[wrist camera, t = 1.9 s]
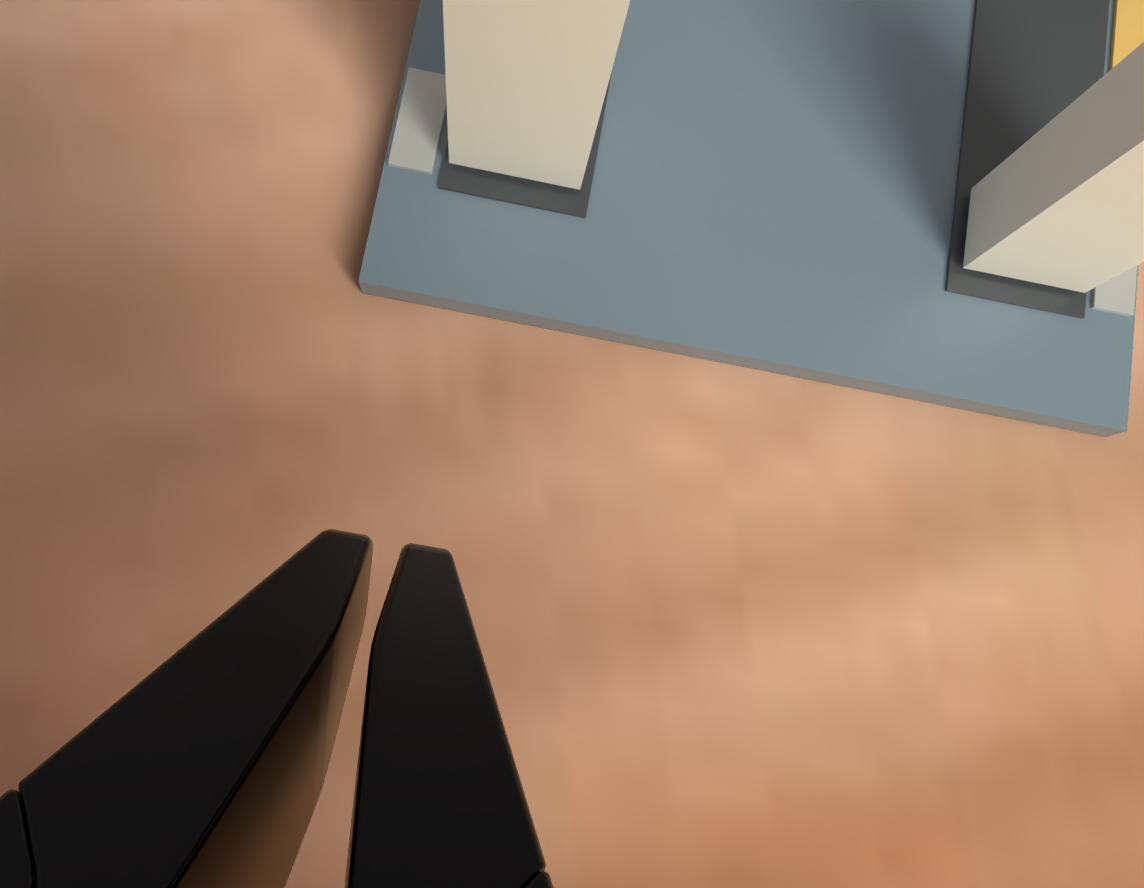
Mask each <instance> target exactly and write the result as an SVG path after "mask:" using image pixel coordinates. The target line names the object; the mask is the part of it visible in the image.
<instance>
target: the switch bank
mask: <svg viewBox="0 0 1144 888" xmlns="http://www.w3.org/2000/svg"><path fill="white" fill-rule="evenodd" d="M1143 42H1144V0H630V4H629V7H628V11H627V15H626V19H625V22H624V26H623V30H622V34H621V38H620V41H619V45H618V49H617V53H616V56H615V60H614V64H613V68H612V71H611V75H610V79H609V83H608V87H607V90H606V94H605V98H604V102H603V105H602V109H601V113H600V117H599V121H598V124H597V128H596V132H595V136H594V139H593V143H592V147H591V151H590V155H589V158H588V162H587V166H586V170H585V173H584V177H583V181H582V185H581V189H580V190H579V189H574V188H569V187H564V186H559V185H554V184H549V183H545V182H540V181H535V180H530V179H525V178H520V177H515V176H510V175H505V174H500V173H496V172H491V171H486V170H481V169H476V168H471V167H466V166H461V165H456V164H451V163H449V150H448V124H447V98H446V72H445V46H444V21H443V0H420V2H419V6H418V11H417V15H416V20H415V24H414V29H413V34H412V38H411V43H410V47H409V52H408V56H407V61H406V66H405V70H404V75H403V79H402V84H401V88H400V93H399V98H398V102H397V107H396V111H395V116H394V120H393V125H392V129H391V134H390V139H389V143H388V148H387V152H386V157H385V161H384V166H383V171H382V175H381V180H380V184H379V189H378V193H377V198H376V202H375V207H374V212H373V216H372V221H371V225H370V230H369V234H368V239H367V244H366V248H365V253H364V257H363V262H362V266H361V271H360V275H359V280H358V282H359V285H360V288H361V291H362V293H366V294H371V295H376V296H381V297H387V298H392V299H397V300H402V301H407V302H412V303H417V304H423V305H428V306H433V307H438V308H443V309H448V310H454V311H459V312H464V313H469V314H474V315H479V316H485V317H490V318H495V319H500V320H505V321H510V322H515V323H521V324H526V325H531V326H536V327H541V328H546V329H552V330H557V331H562V332H567V333H572V334H577V335H582V336H588V337H593V338H598V339H603V340H608V341H613V342H619V343H624V344H629V345H634V346H639V347H644V348H650V349H655V350H660V351H665V352H670V353H675V354H680V355H686V356H691V357H696V358H701V359H706V360H711V361H717V362H722V363H727V364H732V365H737V366H742V367H748V368H753V369H758V370H763V371H768V372H773V373H778V374H784V375H789V376H794V377H799V378H804V379H809V380H815V381H820V382H825V383H830V384H835V385H840V386H845V387H851V388H856V389H861V390H866V391H871V392H876V393H882V394H887V395H892V396H897V397H902V398H907V399H913V400H918V401H923V402H928V403H933V404H938V405H943V406H949V407H954V408H959V409H964V410H969V411H974V412H980V413H985V414H990V415H995V416H1000V417H1005V418H1011V419H1016V420H1021V421H1026V422H1031V423H1036V424H1041V425H1047V426H1052V427H1057V428H1062V429H1067V430H1072V431H1078V432H1083V433H1088V434H1093V435H1098V436H1103V437H1107V436H1111V435H1114V434H1118V433H1121V432H1125V431H1127V422H1128V408H1129V393H1130V379H1131V364H1132V350H1133V335H1134V321H1135V306H1136V291H1137V277H1138V265H1137V266H1135V267H1133V268H1131V269H1129V270H1127V271H1126V272H1124V273H1122V274H1120V275H1118V276H1116V277H1114V278H1112V279H1110V280H1108V281H1107V282H1105V283H1103V284H1101V285H1099V286H1097V287H1095V288H1093V289H1091V290H1089V291H1088V292H1086V293H1083V292H1078V291H1073V290H1068V289H1063V288H1058V287H1053V286H1049V285H1044V284H1039V283H1034V282H1029V281H1024V280H1019V279H1014V278H1009V277H1004V276H1000V275H995V274H990V273H985V272H980V271H975V270H970V269H965V268H963V263H964V253H965V243H966V233H967V224H968V214H969V204H970V194H971V188H973V187H974V186H975V185H976V184H977V183H978V182H980V181H981V180H982V179H983V178H984V177H985V176H987V175H988V174H989V173H990V172H991V171H992V170H994V169H995V168H996V167H997V166H998V165H1000V164H1001V163H1002V162H1003V161H1004V160H1005V159H1007V158H1008V157H1009V156H1010V155H1011V154H1012V153H1014V152H1015V151H1016V150H1017V149H1018V148H1019V147H1021V146H1022V145H1023V144H1024V143H1025V142H1027V141H1028V140H1029V139H1030V138H1031V137H1032V136H1034V135H1035V134H1036V133H1037V132H1038V131H1039V130H1041V129H1042V128H1043V127H1044V126H1045V125H1046V124H1048V123H1049V122H1050V121H1051V120H1052V119H1054V118H1055V117H1056V116H1057V115H1058V114H1059V113H1061V112H1062V111H1063V110H1064V109H1065V108H1066V107H1068V106H1069V105H1070V104H1071V103H1072V102H1073V101H1075V100H1076V99H1077V98H1078V97H1079V96H1081V95H1082V94H1083V93H1084V92H1085V91H1086V90H1088V89H1089V88H1090V87H1091V86H1092V85H1093V84H1095V83H1096V82H1097V81H1098V80H1099V79H1100V78H1102V77H1103V76H1104V75H1105V74H1106V73H1108V72H1109V71H1110V70H1111V69H1112V68H1113V67H1115V66H1116V65H1117V64H1118V63H1119V62H1120V61H1122V60H1123V59H1124V58H1125V57H1126V56H1127V55H1129V54H1130V53H1131V52H1132V51H1133V50H1135V49H1136V48H1137V47H1138V46H1139V45H1140V44H1142V43H1143Z"/></svg>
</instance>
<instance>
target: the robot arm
mask: <svg viewBox="0 0 1144 888" xmlns="http://www.w3.org/2000/svg"><path fill="white" fill-rule="evenodd" d="M372 551H373V544H372V541H371V539H370V538H369V537H368V536H366V535H361V534H356V533H350V532H344V531H339V530H333V529H329V530H325V531H323V532H321V533H320V534H318V535H317V536H316V537H315V538H314V539H312V540H311V541H310V542H309V543H308V544H306V545H305V546H304V547H303V548H302V549H300V550H299V551H298V552H297V553H296V554H294V555H293V556H292V557H291V558H290V559H288V560H287V561H286V562H285V563H283V564H282V565H281V566H280V567H279V568H277V569H276V570H275V571H274V572H273V573H271V574H270V575H269V576H268V577H267V578H265V579H264V580H263V581H262V582H261V583H259V584H258V585H257V586H256V587H255V588H253V589H252V590H251V591H250V592H248V593H247V594H246V595H245V596H244V597H242V598H241V599H240V600H239V601H238V602H236V603H235V604H234V605H233V606H232V607H230V608H229V609H228V610H227V611H226V612H224V613H223V614H222V615H221V616H220V617H218V618H217V619H216V620H215V621H213V622H212V623H211V624H210V625H209V626H207V627H206V628H205V629H204V630H203V631H201V632H200V633H199V634H198V635H197V636H195V637H194V638H193V639H192V640H191V641H189V642H188V643H187V644H186V645H185V646H183V647H182V648H181V649H180V650H179V651H177V652H176V653H175V654H174V655H172V656H171V657H170V658H169V659H168V660H166V661H165V662H164V663H163V664H162V665H160V666H159V667H158V668H157V669H156V670H154V671H153V672H152V673H151V674H150V675H148V676H147V677H146V678H145V679H144V680H142V681H141V682H140V683H139V684H137V685H136V686H135V687H134V688H133V689H131V690H130V691H129V692H128V693H127V694H125V695H124V696H123V697H122V698H121V699H119V700H118V701H117V702H116V703H115V704H113V705H112V706H111V707H110V708H109V709H107V710H106V711H105V712H104V713H103V714H101V715H100V716H99V717H98V718H96V719H95V720H94V721H93V722H92V723H90V724H89V725H88V726H87V727H86V728H84V729H83V730H82V731H81V732H80V733H78V734H77V735H76V736H75V737H74V738H72V739H71V740H70V741H69V742H68V743H66V744H65V745H64V746H63V747H61V748H60V749H59V750H58V751H57V752H55V753H54V754H53V755H52V756H51V757H49V758H48V759H47V760H46V761H45V762H43V763H42V764H41V765H40V766H39V767H37V768H36V769H35V770H34V771H33V772H31V773H30V774H29V775H28V776H26V777H25V778H24V779H23V780H22V781H21V782H20V783H19V792H18V791H17V790H9V791H8V792H6V793H5V794H4V795H3V796H1V797H0V888H284V887H285V885H286V882H287V879H288V877H289V874H290V872H291V869H292V866H293V864H294V861H295V859H296V856H297V853H298V851H299V848H300V846H301V843H302V840H303V838H304V835H305V833H306V830H307V827H308V825H309V822H310V820H311V817H312V815H313V812H314V809H315V806H316V803H317V800H318V798H319V795H320V792H321V789H322V786H323V783H324V779H325V776H326V772H327V769H328V765H329V762H330V758H331V754H332V750H333V746H334V742H335V738H336V734H337V730H338V726H339V722H340V718H341V714H342V710H343V706H344V702H345V698H346V694H347V690H348V686H349V682H350V678H351V674H352V670H353V666H354V662H355V658H356V654H357V650H358V646H359V642H360V638H361V634H362V629H363V625H364V620H365V615H366V608H367V599H368V590H369V580H370V571H371V561H372ZM19 793H20V794H19ZM545 867H546V864H545V860H544V857H543V853H542V850H541V847H540V843H539V840H538V837H537V834H536V830H535V827H534V824H533V820H532V817H531V814H530V810H529V807H528V804H527V801H526V797H525V794H524V791H523V787H522V784H521V781H520V777H519V774H518V771H517V768H516V764H515V761H514V758H513V754H512V751H511V748H510V744H509V741H508V738H507V735H506V731H505V728H504V725H503V721H502V718H501V715H500V711H499V708H498V705H497V702H496V698H495V695H494V692H493V688H492V685H491V682H490V678H489V675H488V672H487V669H486V665H485V662H484V659H483V655H482V652H481V649H480V645H479V642H478V639H477V636H476V632H475V629H474V626H473V622H472V619H471V616H470V613H469V609H468V606H467V603H466V599H465V596H464V593H463V589H462V586H461V583H460V580H459V576H458V573H457V570H456V566H455V563H454V560H453V557H452V555H451V553H450V552H449V551H447V550H445V549H441V548H435V547H430V546H424V545H418V544H413V543H409V544H407V545H405V546H404V547H403V548H402V550H401V553H400V556H399V559H398V562H397V565H396V568H395V571H394V574H393V577H392V581H391V584H390V587H389V590H388V593H387V596H386V599H385V602H384V605H383V608H382V611H381V614H380V617H379V620H378V623H377V627H376V630H375V634H374V638H373V641H372V645H371V652H370V659H369V666H368V675H367V684H366V693H365V702H364V711H363V720H362V729H361V738H360V747H359V756H358V765H357V774H356V783H355V792H354V801H353V810H352V819H351V829H350V838H349V848H348V858H347V868H346V878H345V888H553V885H552V881H551V878H550V875H549V874H548V873H547V872H544V871H545Z"/></svg>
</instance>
